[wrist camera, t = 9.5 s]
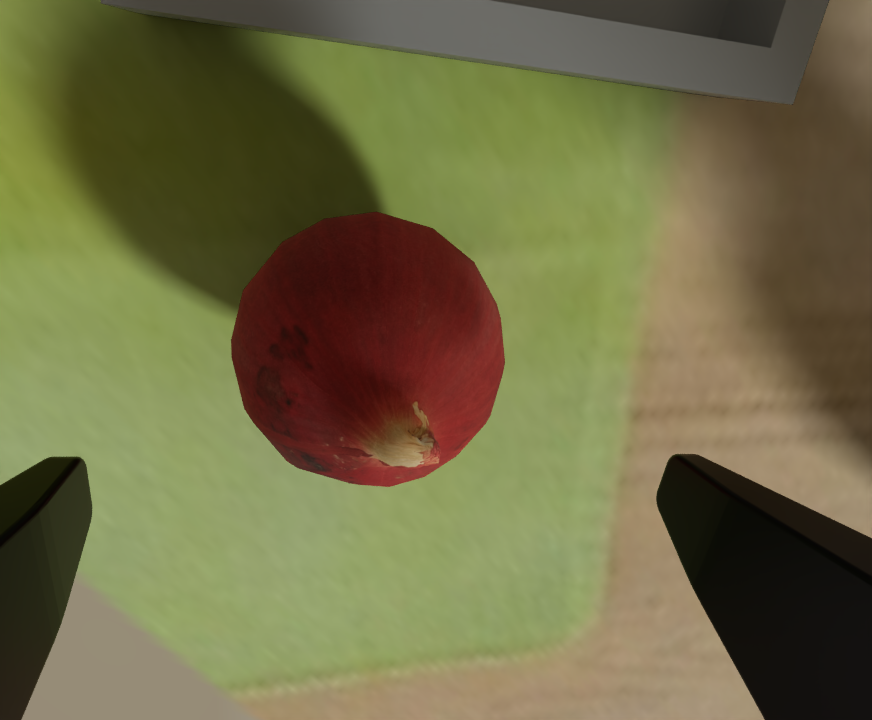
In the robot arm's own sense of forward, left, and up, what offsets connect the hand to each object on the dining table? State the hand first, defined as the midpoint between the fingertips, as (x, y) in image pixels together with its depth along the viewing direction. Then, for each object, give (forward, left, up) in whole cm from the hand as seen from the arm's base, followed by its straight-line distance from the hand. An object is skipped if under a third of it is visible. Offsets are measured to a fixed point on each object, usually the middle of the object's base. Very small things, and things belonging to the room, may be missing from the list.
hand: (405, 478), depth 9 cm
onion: (0, 0, -9) cm, 9 cm away
